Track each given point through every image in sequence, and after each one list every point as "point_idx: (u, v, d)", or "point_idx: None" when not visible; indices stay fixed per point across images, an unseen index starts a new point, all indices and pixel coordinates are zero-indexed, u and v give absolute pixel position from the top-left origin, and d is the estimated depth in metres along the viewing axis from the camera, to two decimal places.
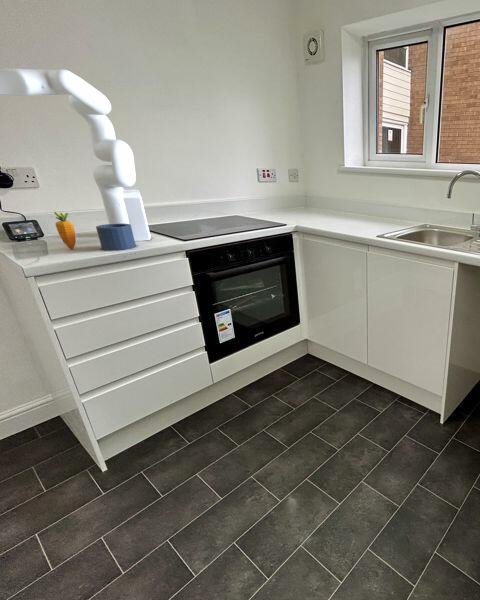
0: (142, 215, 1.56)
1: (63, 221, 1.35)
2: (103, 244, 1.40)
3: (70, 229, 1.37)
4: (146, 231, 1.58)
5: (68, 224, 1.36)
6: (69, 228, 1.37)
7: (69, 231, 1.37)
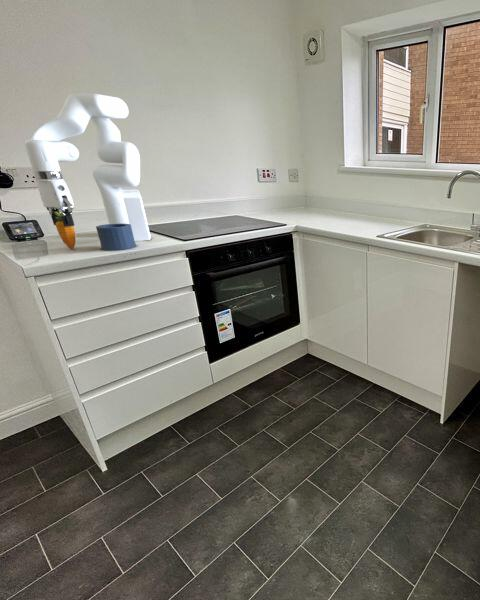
0: (142, 215, 1.56)
1: None
2: (103, 244, 1.40)
3: (70, 229, 1.37)
4: (146, 231, 1.58)
5: None
6: (69, 228, 1.37)
7: (69, 231, 1.37)
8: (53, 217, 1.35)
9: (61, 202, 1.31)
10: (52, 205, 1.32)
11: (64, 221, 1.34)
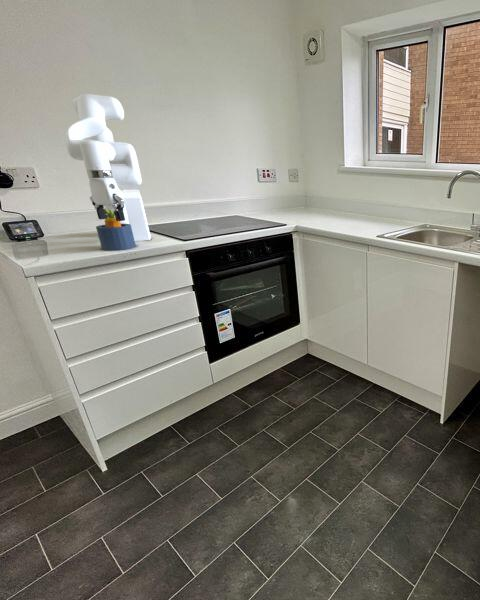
0: (142, 215, 1.56)
1: (112, 218, 1.41)
2: (103, 244, 1.40)
3: (118, 226, 1.42)
4: (146, 231, 1.58)
5: (116, 221, 1.42)
6: (117, 225, 1.42)
7: None
8: (98, 211, 1.41)
9: (112, 200, 1.36)
10: (103, 203, 1.37)
11: (116, 216, 1.39)
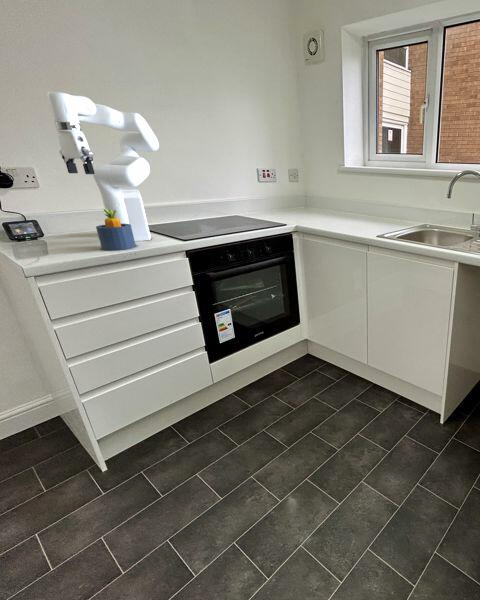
0: (142, 215, 1.56)
1: (112, 218, 1.41)
2: (103, 244, 1.40)
3: (118, 226, 1.42)
4: (146, 231, 1.58)
5: (116, 221, 1.42)
6: (117, 225, 1.42)
7: None
8: (68, 165, 1.44)
9: (80, 152, 1.39)
10: (71, 156, 1.40)
11: (85, 169, 1.42)
